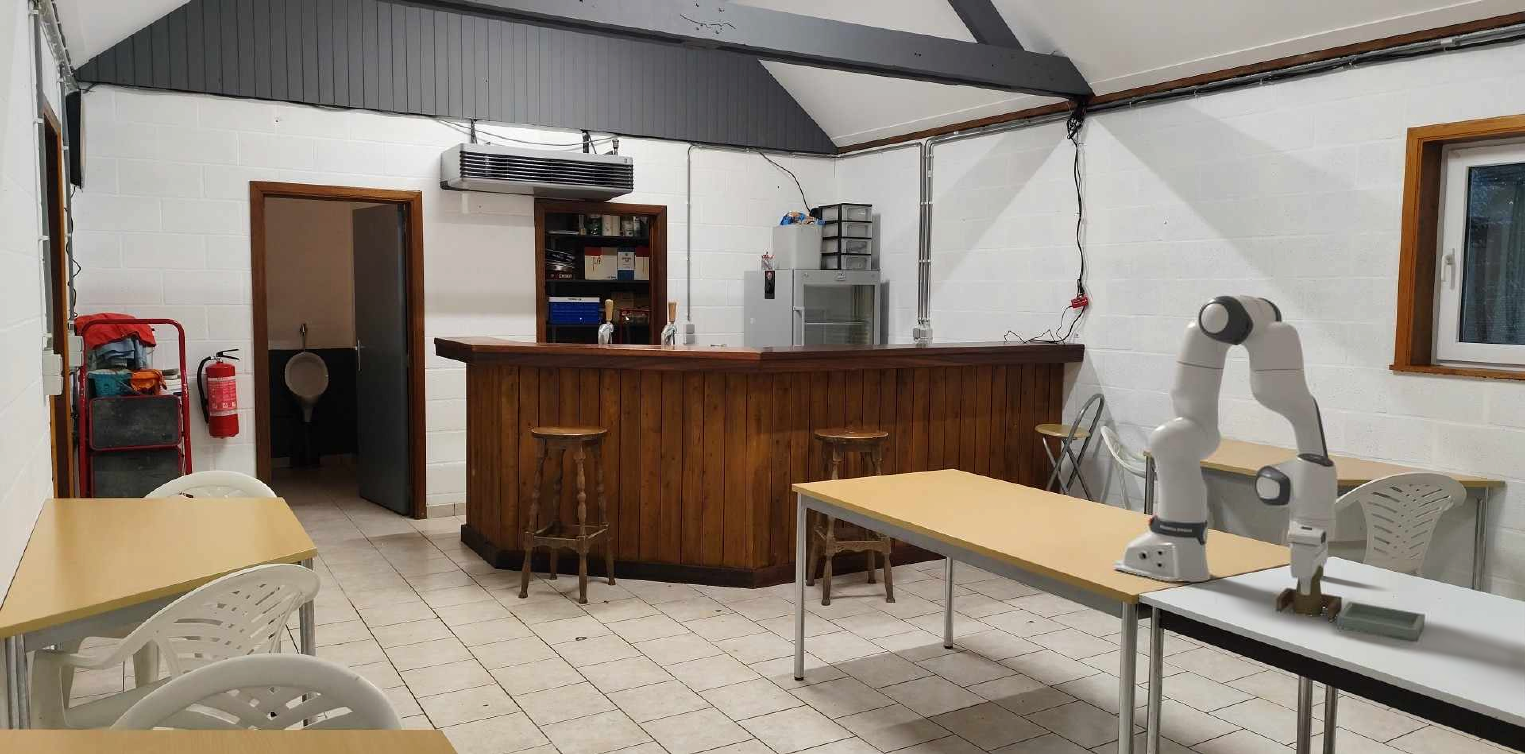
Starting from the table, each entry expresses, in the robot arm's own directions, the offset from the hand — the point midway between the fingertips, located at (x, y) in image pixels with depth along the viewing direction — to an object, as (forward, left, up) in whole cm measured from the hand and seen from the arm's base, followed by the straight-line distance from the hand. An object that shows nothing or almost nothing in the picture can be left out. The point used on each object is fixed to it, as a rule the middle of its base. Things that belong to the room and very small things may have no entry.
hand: (1308, 591), depth 221 cm
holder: (0, +1, -5) cm, 5 cm away
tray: (+14, -1, -5) cm, 15 cm away
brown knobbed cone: (0, 0, -5) cm, 5 cm away
